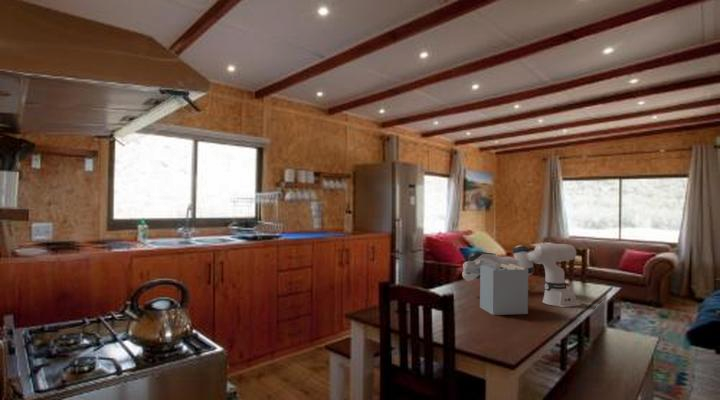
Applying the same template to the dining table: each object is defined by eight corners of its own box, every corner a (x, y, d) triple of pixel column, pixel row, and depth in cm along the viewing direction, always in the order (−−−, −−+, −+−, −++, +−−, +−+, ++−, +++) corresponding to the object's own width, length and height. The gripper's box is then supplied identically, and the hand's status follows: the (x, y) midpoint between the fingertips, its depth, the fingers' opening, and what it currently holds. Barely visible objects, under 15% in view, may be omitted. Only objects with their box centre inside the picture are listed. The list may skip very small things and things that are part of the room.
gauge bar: (484, 263, 242) (484, 258, 242) (500, 268, 222) (500, 263, 222) (479, 263, 241) (479, 258, 241) (495, 268, 222) (495, 263, 222)
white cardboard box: (512, 306, 236) (513, 263, 236) (527, 313, 220) (528, 268, 221) (479, 307, 233) (480, 264, 233) (492, 315, 217) (493, 268, 217)
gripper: (491, 272, 250) (500, 265, 238) (462, 273, 247) (470, 265, 235) (488, 263, 253) (498, 256, 242) (460, 264, 250) (468, 256, 238)
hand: (484, 261), depth 238 cm, fingers closed on gauge bar, 3 cm apart
